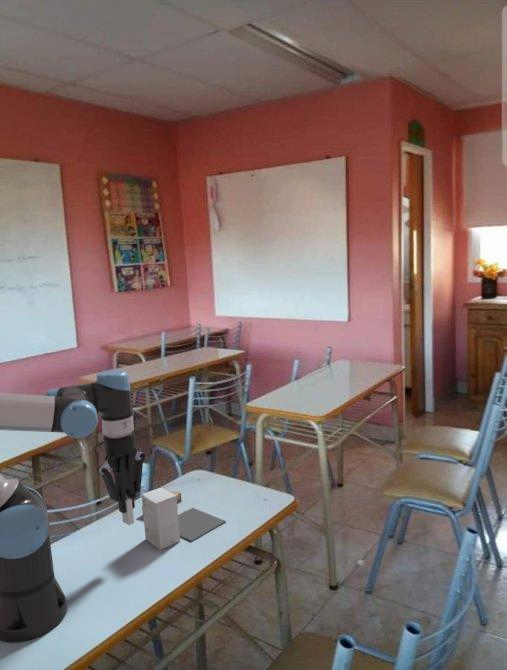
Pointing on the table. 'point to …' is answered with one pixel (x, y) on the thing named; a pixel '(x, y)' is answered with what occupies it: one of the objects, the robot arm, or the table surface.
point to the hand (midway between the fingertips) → (128, 522)
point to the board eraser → (177, 494)
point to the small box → (160, 518)
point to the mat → (197, 524)
